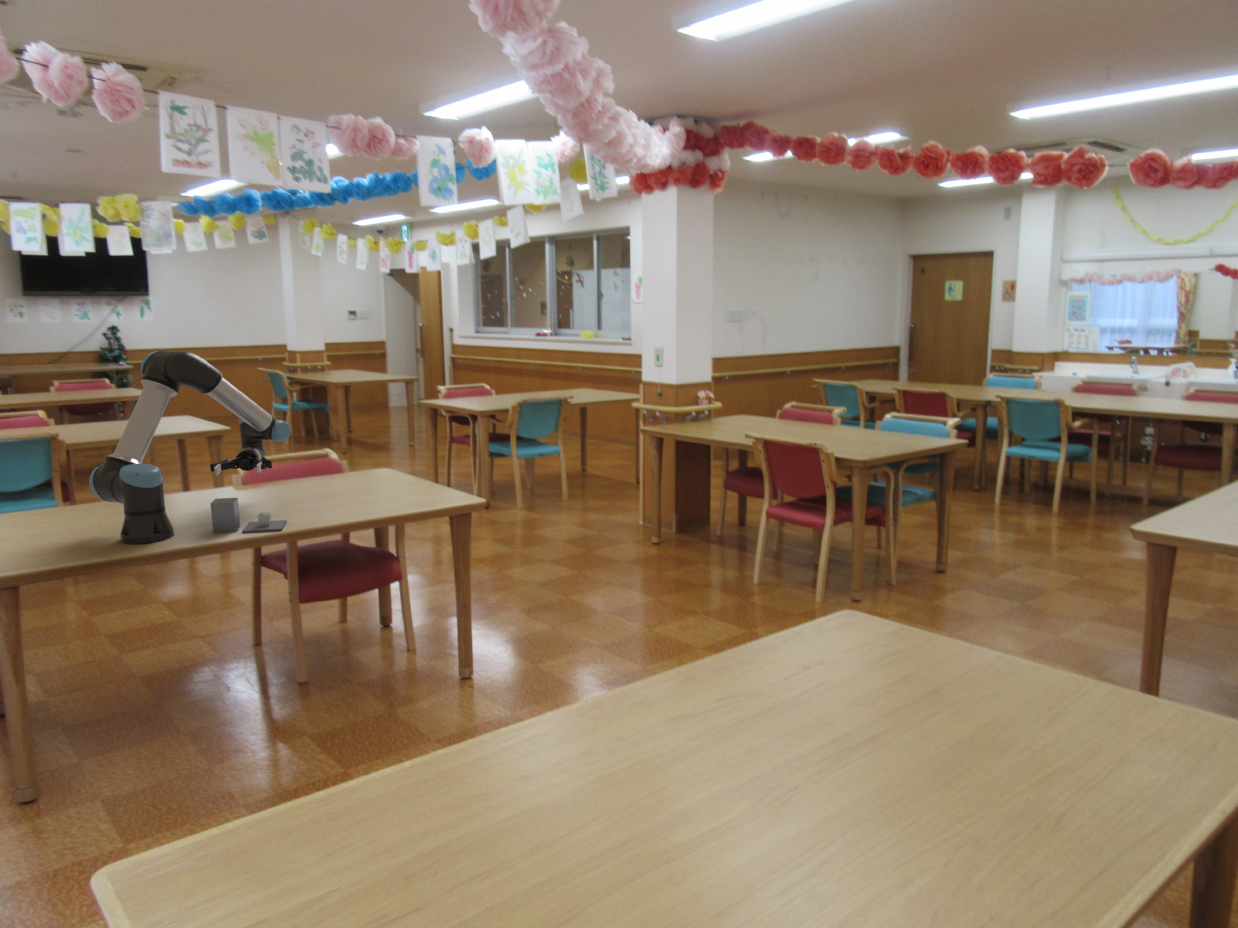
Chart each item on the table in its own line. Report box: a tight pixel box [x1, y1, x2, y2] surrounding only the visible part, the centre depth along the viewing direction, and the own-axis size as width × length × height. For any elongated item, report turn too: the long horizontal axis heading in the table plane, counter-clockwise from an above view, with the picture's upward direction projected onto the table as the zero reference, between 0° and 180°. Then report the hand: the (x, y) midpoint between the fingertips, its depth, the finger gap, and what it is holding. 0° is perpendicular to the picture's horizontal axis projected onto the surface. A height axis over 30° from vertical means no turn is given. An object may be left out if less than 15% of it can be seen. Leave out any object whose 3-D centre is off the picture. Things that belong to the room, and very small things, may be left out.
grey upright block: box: [210, 497, 241, 534], centre depth 291 cm, size 7×7×10 cm
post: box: [257, 511, 272, 527], centre depth 294 cm, size 3×3×4 cm
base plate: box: [242, 519, 288, 534], centre depth 294 cm, size 12×12×1 cm
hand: (237, 470), depth 302 cm, fingers open, 13 cm apart
